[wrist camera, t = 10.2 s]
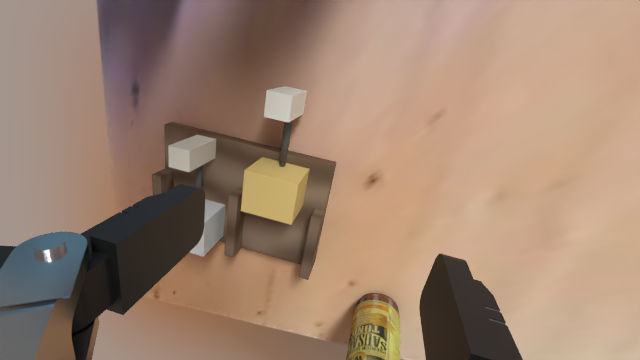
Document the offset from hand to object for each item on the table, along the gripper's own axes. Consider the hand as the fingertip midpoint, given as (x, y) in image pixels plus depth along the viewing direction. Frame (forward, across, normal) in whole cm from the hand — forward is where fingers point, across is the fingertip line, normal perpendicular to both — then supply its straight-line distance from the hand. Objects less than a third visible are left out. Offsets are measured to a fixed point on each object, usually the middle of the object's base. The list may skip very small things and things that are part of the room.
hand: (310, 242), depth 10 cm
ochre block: (+25, +8, +5) cm, 26 cm away
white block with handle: (+25, +18, +13) cm, 33 cm away
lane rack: (+26, +13, +14) cm, 32 cm away
